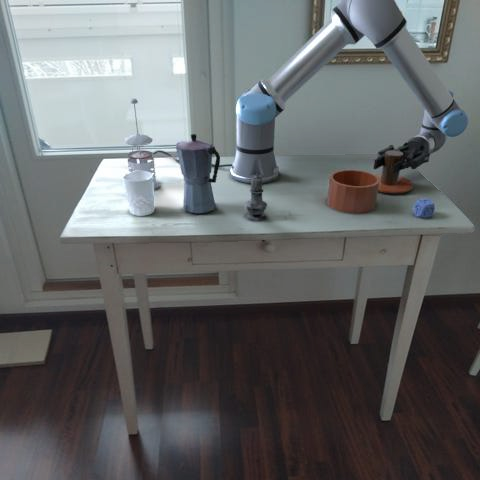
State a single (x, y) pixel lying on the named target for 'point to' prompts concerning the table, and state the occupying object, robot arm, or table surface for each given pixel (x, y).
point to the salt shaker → (256, 200)
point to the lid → (392, 175)
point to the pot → (352, 191)
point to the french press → (140, 153)
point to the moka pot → (197, 174)
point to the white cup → (139, 192)
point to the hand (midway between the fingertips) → (384, 166)
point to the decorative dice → (424, 208)
